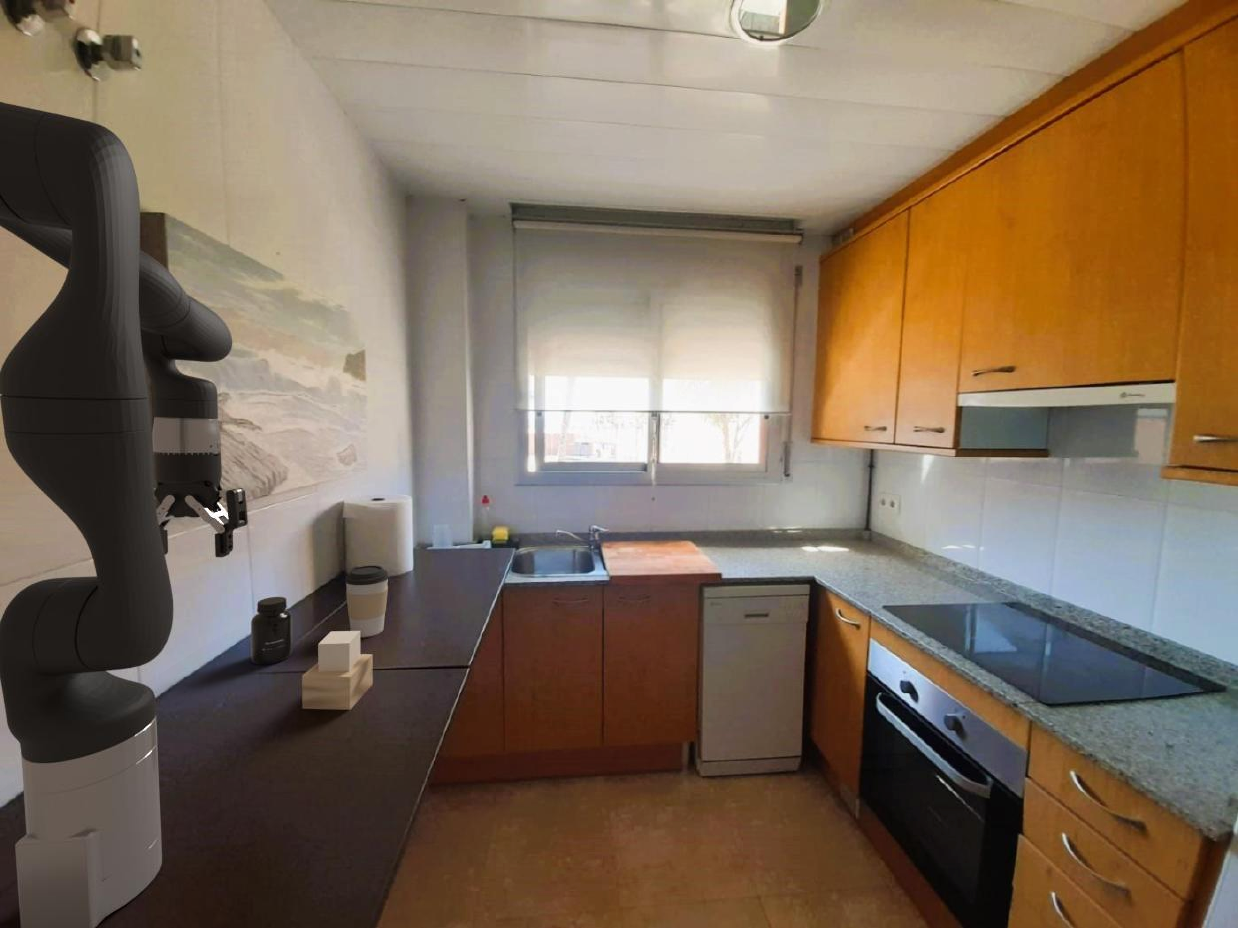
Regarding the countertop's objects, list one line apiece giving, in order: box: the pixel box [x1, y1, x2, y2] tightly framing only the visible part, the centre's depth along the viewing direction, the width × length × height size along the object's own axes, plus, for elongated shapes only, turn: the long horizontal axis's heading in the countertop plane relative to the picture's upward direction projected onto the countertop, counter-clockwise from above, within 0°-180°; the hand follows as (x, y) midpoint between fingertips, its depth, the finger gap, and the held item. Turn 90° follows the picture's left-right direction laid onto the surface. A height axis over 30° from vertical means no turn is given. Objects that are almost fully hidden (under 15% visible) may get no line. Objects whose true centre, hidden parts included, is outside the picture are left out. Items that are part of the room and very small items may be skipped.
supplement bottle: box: [250, 596, 293, 666], centre depth 98 cm, size 7×7×12 cm
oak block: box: [301, 653, 374, 711], centre depth 86 cm, size 8×8×6 cm
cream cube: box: [317, 630, 361, 672], centre depth 85 cm, size 5×5×5 cm
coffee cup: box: [344, 564, 390, 638], centre depth 111 cm, size 9×9×15 cm
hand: (191, 555), depth 72 cm, fingers open, 8 cm apart
